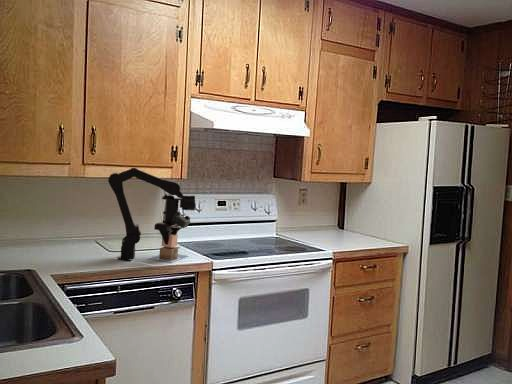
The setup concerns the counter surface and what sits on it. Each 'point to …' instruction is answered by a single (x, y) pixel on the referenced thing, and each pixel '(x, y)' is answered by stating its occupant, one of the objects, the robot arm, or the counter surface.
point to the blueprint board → (167, 260)
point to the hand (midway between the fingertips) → (169, 243)
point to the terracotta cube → (171, 241)
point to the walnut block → (168, 253)
